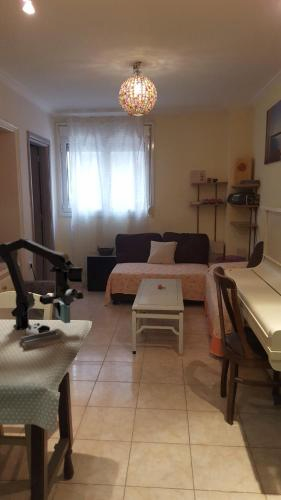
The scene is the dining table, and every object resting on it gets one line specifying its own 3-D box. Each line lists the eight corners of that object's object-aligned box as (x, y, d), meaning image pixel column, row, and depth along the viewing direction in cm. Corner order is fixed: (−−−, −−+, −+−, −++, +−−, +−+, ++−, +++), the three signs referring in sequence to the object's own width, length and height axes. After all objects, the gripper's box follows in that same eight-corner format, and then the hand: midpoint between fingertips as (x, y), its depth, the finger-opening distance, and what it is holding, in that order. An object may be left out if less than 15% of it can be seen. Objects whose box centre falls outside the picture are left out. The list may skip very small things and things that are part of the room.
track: (19, 342, 150) (19, 336, 150) (54, 335, 159) (54, 328, 158) (26, 350, 143) (25, 343, 142) (62, 342, 151) (62, 335, 151)
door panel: (54, 315, 169) (54, 301, 168) (59, 315, 170) (59, 300, 169) (65, 323, 159) (64, 307, 158) (70, 322, 160) (70, 307, 159)
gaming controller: (39, 337, 154) (28, 324, 154) (30, 346, 156) (19, 334, 156) (52, 328, 165) (41, 316, 165) (43, 336, 166) (33, 325, 167)
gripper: (47, 288, 150) (48, 324, 153) (88, 282, 161) (89, 316, 163) (38, 282, 159) (39, 317, 162) (78, 277, 170) (78, 310, 172)
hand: (62, 315), depth 164 cm, fingers closed on door panel, 2 cm apart
